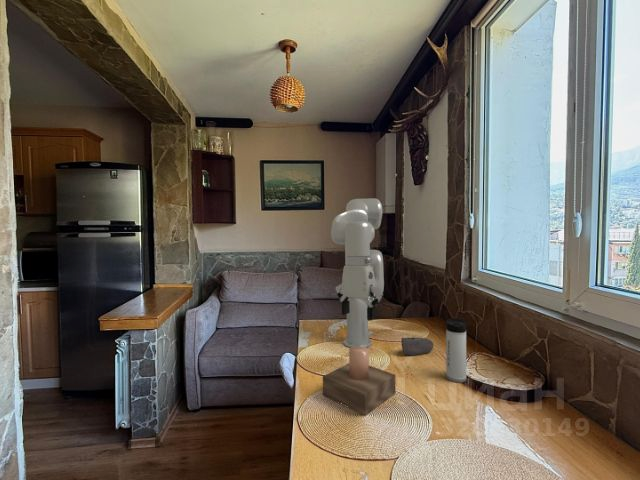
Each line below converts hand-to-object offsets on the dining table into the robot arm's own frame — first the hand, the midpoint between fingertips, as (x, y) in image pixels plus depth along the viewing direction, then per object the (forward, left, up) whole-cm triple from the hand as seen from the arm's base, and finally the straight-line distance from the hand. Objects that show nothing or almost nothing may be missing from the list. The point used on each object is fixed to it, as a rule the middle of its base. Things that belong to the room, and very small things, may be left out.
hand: (358, 316), depth 96 cm
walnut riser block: (0, 0, -24) cm, 24 cm away
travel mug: (-31, +18, -24) cm, 43 cm away
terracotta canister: (0, 0, -18) cm, 18 cm away
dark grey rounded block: (-42, -1, -25) cm, 49 cm away
